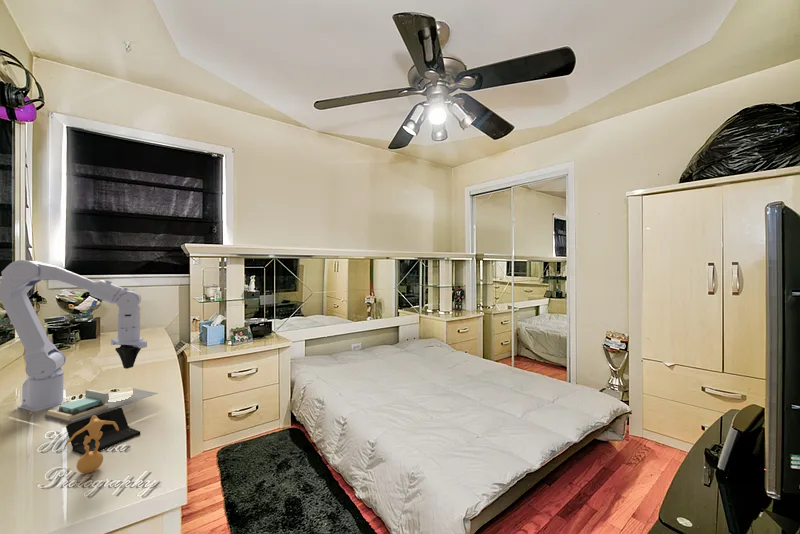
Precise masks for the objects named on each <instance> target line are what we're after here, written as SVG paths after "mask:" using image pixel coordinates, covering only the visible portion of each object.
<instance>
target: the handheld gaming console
mask: <svg viewBox="0 0 800 534" xmlns="http://www.w3.org/2000/svg"><path fill="white" fill-rule="evenodd" d="M95 416H97V418H98V419H100V420H106V421H114V422H116V424H117V426H118V427H119V431H117V430H116V429H115V428H116V427H114V425H113V424H104V425H102V427H101V429H100V431H102V432H103V434H102V436H101V438H100V439H99V440H98V442H99V443H100V445H99V446H98V452H101V450H102V451H103V449H104V450H106V448H107V449H108V448H112V447H114V446H116V445H118V444H121V443H123V442H127V441H128V440H131V439H134V438H135V437H139V436H140V435H141V431H140V430H137V429H134V428H132V427H130V426H129V424H128V421H127V418H126V415H125V413H124V409H123V408H122V407H118V408H115V409H112V410H109V411H106V412H103V413H100V414H98V415H95ZM90 420H91V417H89V418H86V419H83V420H80V421H77V422H74V423H67V425H66V426H65V429H66V432H67V436H68V438H69V439H70V438H71V437H72V436H73V435H74V434H75V433H76V432H77V431H79V430H81V429H82V428H84V427H85V426H86V425H88V424H89V423H90ZM100 431H99V432H100ZM85 436H90V434H89V432H88V430H85V431H83V432H82V433H80V434H78V435H76V436H75V437H74V438H73V440H72V441H71V442H70V445H71V447H72V449H71V451H72V452H74V453H76V454H79V455H80V456H83V455H84V454H85V453H86V450H85V449H84V447H85V446H84V444H83V442H84V440H85ZM69 439H68V440H69ZM95 443H96V440H94V439H91V441H90V442H89V443H88V444H87V445H88V446H89V452H91V451H94V450H95V448H96V446H95Z"/></svg>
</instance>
